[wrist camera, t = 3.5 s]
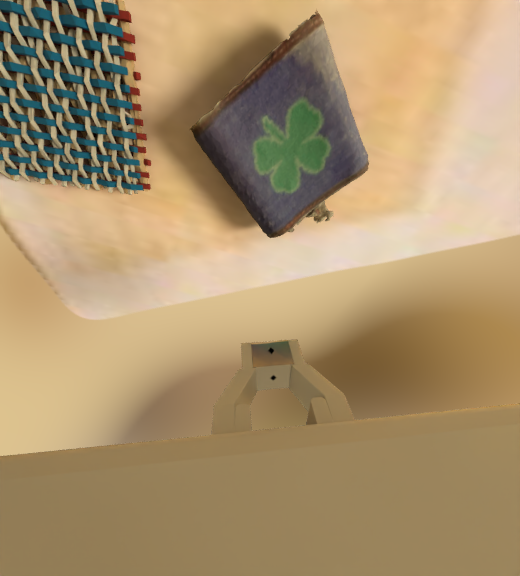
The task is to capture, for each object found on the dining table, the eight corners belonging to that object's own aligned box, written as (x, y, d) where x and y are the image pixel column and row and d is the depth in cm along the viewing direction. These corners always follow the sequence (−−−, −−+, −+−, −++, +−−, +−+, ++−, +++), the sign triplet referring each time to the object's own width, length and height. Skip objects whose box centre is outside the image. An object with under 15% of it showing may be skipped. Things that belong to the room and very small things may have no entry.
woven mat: (157, 195, 19) (149, 201, 17) (8, 177, 17) (-17, 181, 15) (138, 5, 13) (124, -15, 11) (-87, -50, 11) (-143, -83, 10)
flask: (326, -2, 11) (384, 187, 17) (305, 23, 13) (362, 181, 19) (186, 129, 13) (282, 259, 19) (190, 131, 15) (274, 246, 21)
